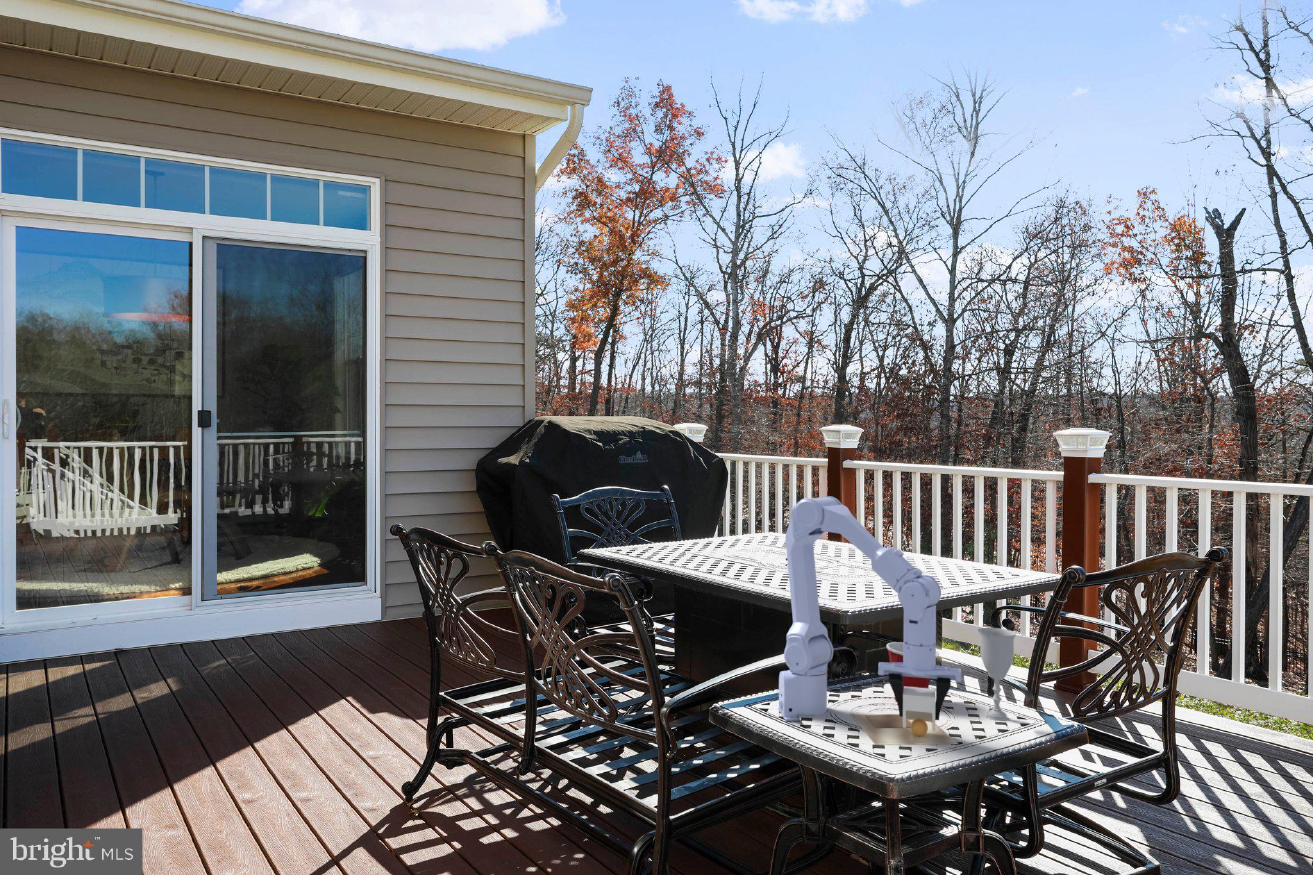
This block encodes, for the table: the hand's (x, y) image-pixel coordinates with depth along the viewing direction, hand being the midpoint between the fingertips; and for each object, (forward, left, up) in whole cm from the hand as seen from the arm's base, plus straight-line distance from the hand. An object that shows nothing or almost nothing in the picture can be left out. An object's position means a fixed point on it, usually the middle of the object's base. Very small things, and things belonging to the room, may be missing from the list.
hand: (919, 716), depth 156 cm
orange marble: (0, 0, -3) cm, 3 cm away
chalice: (+19, +10, -5) cm, 22 cm away
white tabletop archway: (0, 0, -1) cm, 1 cm away
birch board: (-2, +4, -5) cm, 6 cm away
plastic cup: (+6, +22, -5) cm, 23 cm away
